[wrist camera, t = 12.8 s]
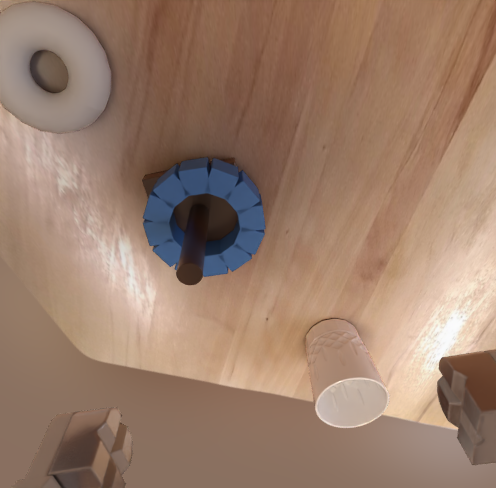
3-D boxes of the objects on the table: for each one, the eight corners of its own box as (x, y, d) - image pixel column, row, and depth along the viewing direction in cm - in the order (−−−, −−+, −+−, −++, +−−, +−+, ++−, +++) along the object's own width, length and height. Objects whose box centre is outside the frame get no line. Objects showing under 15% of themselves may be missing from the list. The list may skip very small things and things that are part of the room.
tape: (165, 267, 42) (161, 283, 40) (136, 167, 37) (129, 179, 34) (268, 252, 42) (270, 267, 39) (254, 149, 36) (256, 159, 34)
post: (170, 252, 43) (149, 328, 32) (144, 174, 39) (111, 233, 28) (250, 237, 43) (257, 310, 32) (234, 157, 38) (236, 210, 27)
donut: (-2, -18, 31) (-8, 108, 35) (-27, -24, 28) (-30, 115, 32) (126, 29, 33) (105, 143, 37) (115, 29, 30) (95, 153, 34)
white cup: (292, 356, 52) (305, 423, 43) (311, 309, 48) (329, 373, 39) (349, 364, 53) (372, 432, 44) (371, 319, 49) (401, 383, 40)
